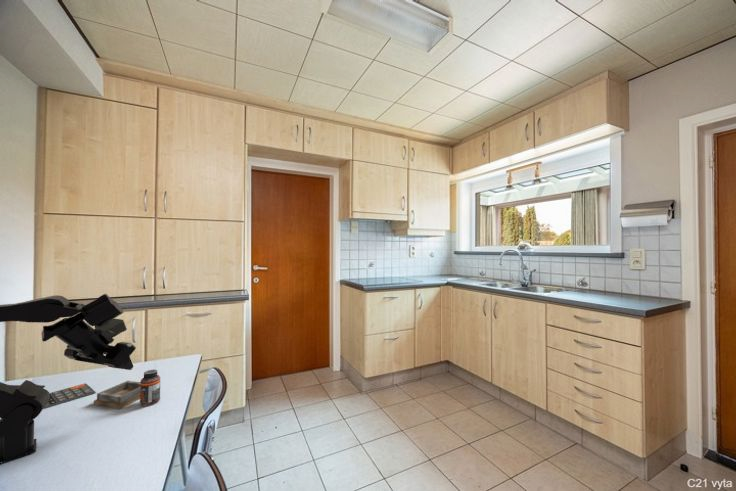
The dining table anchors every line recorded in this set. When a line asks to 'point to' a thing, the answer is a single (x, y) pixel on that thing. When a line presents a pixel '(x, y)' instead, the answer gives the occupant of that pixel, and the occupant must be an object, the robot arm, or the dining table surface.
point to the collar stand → (119, 395)
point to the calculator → (69, 394)
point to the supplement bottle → (150, 388)
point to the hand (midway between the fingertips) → (119, 366)
